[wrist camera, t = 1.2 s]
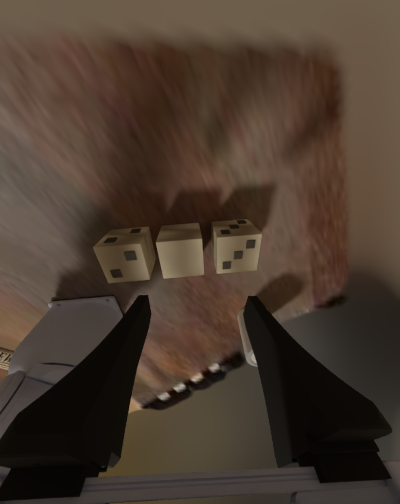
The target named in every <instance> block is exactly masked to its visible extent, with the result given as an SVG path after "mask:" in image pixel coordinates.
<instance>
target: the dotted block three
mask: <svg viewBox="0 0 400 504" xmlns="http://www.w3.org/2000/svg"><path fill="white" fill-rule="evenodd" d="M261 238H262V233H261V232H260V231H259V230H258V229H257V228H256V227H255V226H254V225H253V224H252V223H251V222H250V221H249V220H248V219H241V220H228V221H216V222H211V241H212V256H213V260H214V264H215V268H216V271H217V274H220V273H231V272H242V271H253V270H257V263H258V257H259V250H260V244H261Z"/></svg>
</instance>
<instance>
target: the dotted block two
mask: <svg viewBox="0 0 400 504" xmlns="http://www.w3.org/2000/svg"><path fill="white" fill-rule="evenodd" d="M93 250H94V252H95V254H96V256H97V259H98V261H99V263H100V265H101V268H102V270H103V272H104V274H105V276H106V279H107V281H108V283H118V282H129V281H140V280H150V278H151V274H152V271H153V267H154V264H155V260H156V255H155V251H154V247H153V242H152V238H151V233H150V229H149V227H138V228H125V229H112V230H110V231H109V232H108V233H107V234H106V235H105V236H104V237H103V238H102V239H101V240H100V241H99V242H98V243H97V244H96V245H95V246H94V247H93Z"/></svg>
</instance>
